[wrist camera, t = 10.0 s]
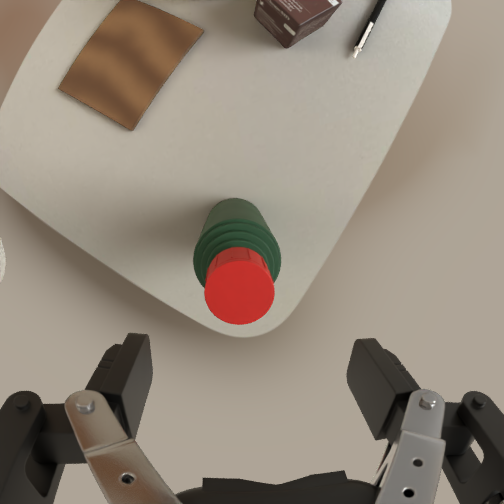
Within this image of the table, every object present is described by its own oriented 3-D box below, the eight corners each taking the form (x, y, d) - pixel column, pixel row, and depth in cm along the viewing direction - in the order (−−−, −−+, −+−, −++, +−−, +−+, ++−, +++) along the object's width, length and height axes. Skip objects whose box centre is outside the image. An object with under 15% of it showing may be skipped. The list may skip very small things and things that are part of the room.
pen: (349, 56, 31) (352, 53, 30) (393, -31, 26) (396, -34, 25) (355, 60, 31) (358, 57, 30) (398, -28, 27) (402, -31, 26)
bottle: (256, 259, 37) (278, 344, 19) (201, 248, 36) (176, 326, 19) (269, 205, 35) (307, 247, 18) (212, 192, 34) (194, 223, 17)
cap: (229, 234, 20) (228, 247, 17) (280, 267, 20) (288, 283, 18) (196, 284, 20) (191, 303, 18) (246, 313, 21) (249, 335, 18)
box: (252, 15, 29) (257, -15, 22) (290, -7, 28) (303, -37, 21) (286, 50, 30) (299, 26, 23) (324, 27, 30) (344, 1, 22)
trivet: (132, 131, 32) (130, 130, 31) (61, 89, 29) (57, 88, 29) (203, 32, 29) (203, 29, 28) (126, -2, 27) (124, -5, 26)
